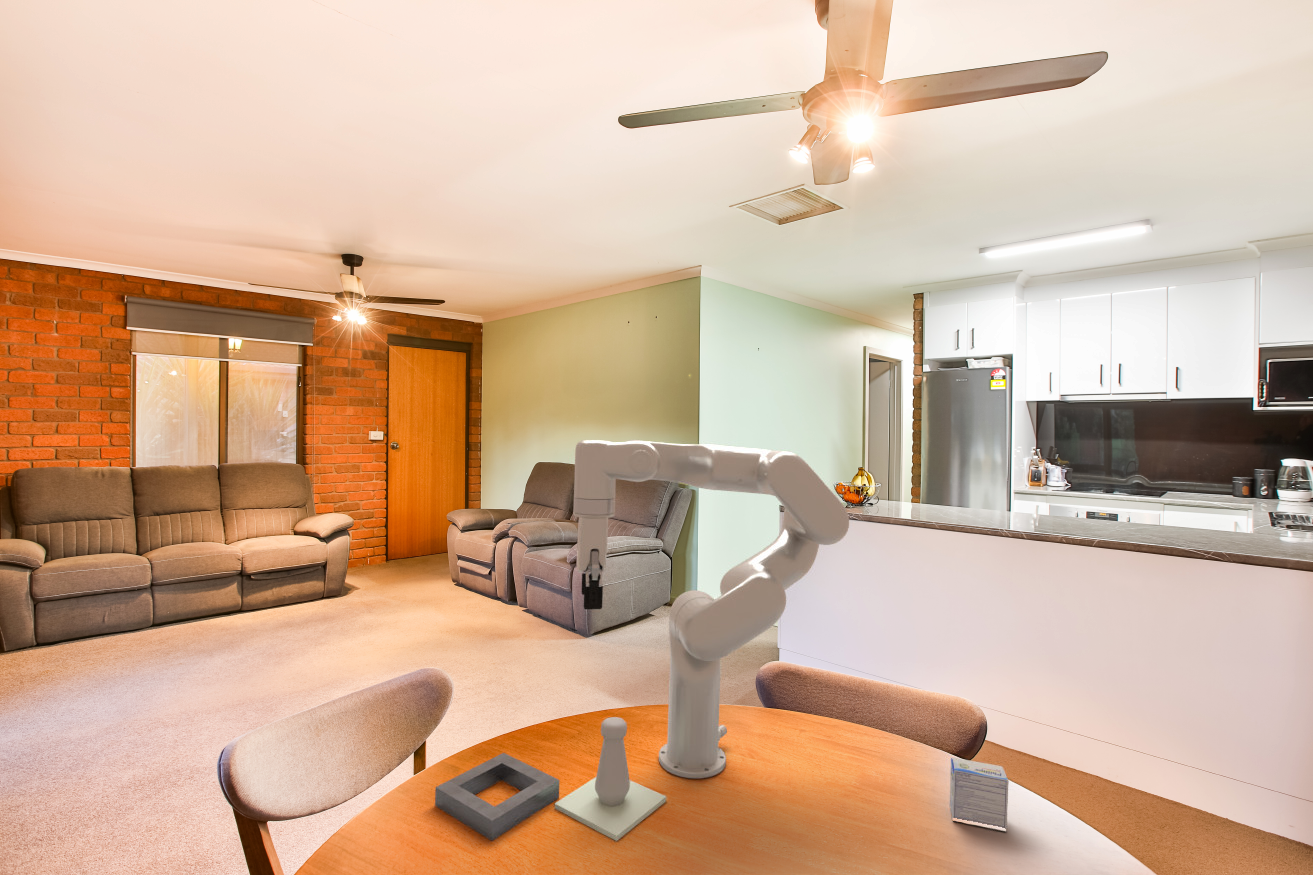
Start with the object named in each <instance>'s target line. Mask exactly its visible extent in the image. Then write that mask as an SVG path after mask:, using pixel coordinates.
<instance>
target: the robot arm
mask: <svg viewBox="0 0 1313 875" xmlns="http://www.w3.org/2000/svg"><path fill="white" fill-rule="evenodd" d="M575 445H576V446H575V449H574V450H575V452H574V453H575V454H574V456H575V458H574V484H573V485H574V486H573V487H574V488H573V510H572V511H573V512H572V513H573V517H577V518H578V523H577V524H578V525H577V540H576V542H577V545H576V547H577V548H576V568H577V569H576V570H577V572H578V573H579V574H581V595H583V609H585V610H601V609H602V608H603V598H604V597H603V595H604V594H603V593H604V585H603V573H604V572H605V571H606V565H607V554H608V553H607V552H608V538H609V537H608V534H609V532H608V531H609V530H608V529H609V518H613V517H615V515H616V514H615V510H616V484H617V483H616V480H622V481H623V480H624V481H627V482H628V481H629V482H635V483H641V482H642V483H643V482H645V481H648V480H656V481H665V482H671V483H672V482H673V483H678V484H679V483H680V484H683V485H688V486H691V487H694V488H699V489H704V490H709V491H710V490H711V491H712V490H713V491H723V492H733V493H734V492H736V493H737V492H738V493H748V494H759V495H761V494H762V495H767V496H768V495H769V496H773V497H775V498H777V500H778V501H779V503H781V505H782V507H783V508H784V509H783V510H784V511H783V517H782V519H783V521H782V526H781V530H780V532H779V534H778V536H777V537H776V538H775V540H773V542H771V543H770V544H769V545H767V546H766V547H764V548H763V549H762V550H760V551H758V552H757V553H755V554H753V555H752V556H750V557H749V558H747V559H745V560H744V561H742V562H740V563H738V564H737V565H735V566H733V567H731V568H730V569H729V570H728V571H727V572H726V573H725V574H724V575H723V576H722V578H721V580H720V584H719V590H720V596H717V598H715V599H714V598H713V596H711V595H710V594H708V593H707V592H705V591H701V590H695V589H694V590H688V591H685V592H683V593H681V594H679V596H677V597H676V598H675V600H674V601H673V603H672V605H671V607H670V610H669V615H668V616H669V617H668V634H669V636H668V637H669V677H668V678H669V680H668V681H669V682H668V711H667V712H668V714H667V743H665V744H664V745H662V746H661V748H660V749H659V751H658V761H659V762H658V763H659V764H660V766H661V767H662V768H663V769H664V770H666V771H667V772H668V773H670V774H672V775H675V776H677V777H681V778H687V779H705V778H710V777H713V776H716V775H717V774H719V773H721V772H722V771H723V770H724V769H725V767H726V765H727V763H726V762H727V756H726V753H725V752H724V751H723V750H722V748H721V747H719V742H720V741H721V738H722V737H724V736H725V735H726V734H727V733H728V730H727V726H725V725H724V724H720V723H719V722H720V699H721V698H720V695H721V692H720V691H721V675H722V674H721V672H722V671H721V667H722V666H721V663H722V662H721V659H723V658H724V657H727V656H728V655H730V654H731V653H733V652H735V651H736V650H738V649H739V648H741V647H744V645H746V644H747V643H749V642H750V641H751V642H752V640H754V639H755V638H757V637H759V636H760V635H762V634H763V633H764V632H766V631H768V630H770V628H772V627H773V626H774V625H775V624H777V622H778V621H779V620H780V618H781V617H782V616H783V614H784V611H785V609H786V605H787V595H786V594H787V593H786V590H787V589H788V588H790V587H792V585H794V584H796V583H797V582H798V581H800V580H801V579H802V578H803V577H805V576H806V575H807V573H808V572H809V571H810V570H811V569H812V567H813V565H814V563H815V560H816V558H817V555H818V551H819V549H820V548H819V547H820V545H821V546H829V545H834V544H837V543H838V542H840V541H841V540H842V539H844V537H845V536H846V535H847V533H848V531H849V528H850V519H849V518H850V517H849V514H848V511H847V509H846V507H845V506H844V504H843V503H842V502H841V501H840V499H839V498H838V497H837V496H836V495H835V494H834V493H833V491H832V490H831V489H830V488H829V487H828V486H827V485H826V483H825V482H824V481H823V480H822V479H821V477H820V476H819V475H818V474H817V473H816V472H815V471H814V469H813V468H811V466H810V465H809V464H808V463H807V462H806V461H805V460H804V459H803V458H802V457H801V456H799V455H798V454H796V453H794V452H790V451H785V450H784V451H782V450H773V449H762V448H752V447H742V446H732V445H721V444H720V445H719V444H711V443H710V444H708V443H707V444H706V443H704V444H703V443H702V444H701V443H699V444H696V443H695V444H684V443H683V444H682V443H671V442H670V443H669V442H667V443H666V442H659V441H658V442H657V441H647V440H642V439H641V440H640V439H629V440H627V441H620V442H617V441H616V442H613V441H611V440H603V439H583V440H580V441H578V442H577V444H575Z"/></svg>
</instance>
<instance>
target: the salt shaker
mask: <svg viewBox="0 0 1313 875" xmlns="http://www.w3.org/2000/svg"><path fill="white" fill-rule="evenodd" d="M627 730H628V724H627V722H626V721H625V720H624V719H623V718H621V717H619V716H617V717H616V716H613V717H607V718H605V719H604V720H603V721H601V726H600V734H601V736H602V737H603V741H602V746H601V751H600V756H599V760H598V761H599V762H598V766H597V772H596V775H595V777H596V781H595V791H596V793H597V795H598V797H599V799H600V801H601V804H603V805H606V806H610V807H613V806H617V805H621V804H622V802H623V800H624V798H625V796H626V795H627V793H628V791H629V788H630V780H631V779H630V775H629V774H630V773H629V767H628V766H629V765H628V761H627V760H628V759H627V754H626V747H625V740H624V738H625V737H626V735H627V732H628V731H627Z"/></svg>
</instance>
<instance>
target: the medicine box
mask: <svg viewBox="0 0 1313 875" xmlns="http://www.w3.org/2000/svg"><path fill="white" fill-rule="evenodd" d="M1007 776H1008V775H1007V774H1006V771H1005V769H1004V767H1003V766H1001V765H997V764H991V763H986V762H980V761H974V760H968V759H962V758H957V757H951V758H950V776H949V777H950V780H949V781H950V782H949V808H950V807H951V810H950V814H951V813H952V816H951V818H952V817H953V818H957V819H962V820H967V821H973V822H978V823H982V824H987V825H993V826H998V827H1002V828H1005V829H1007V830H1008V806H1009V805H1008V803H1009V785H1010V784H1009V782H1010V781H1009V778H1008V777H1007Z"/></svg>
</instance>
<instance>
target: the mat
mask: <svg viewBox="0 0 1313 875" xmlns="http://www.w3.org/2000/svg"><path fill="white" fill-rule="evenodd" d="M595 781H596V776H595V777H593V778H592V779H591V780H589V781H588V782H585V783H584V784H583V785H582V786H579V787H578V788H576V789H575V790H573V791H572V792H570V793H569V794H567V795H566V796H564V797H563V798H560V799H559V800H558V801H556V802H555V803H554V809H555V810H557V811H558V812H561V813H562V814H565V815H567V816H568V817H570V818H572V819H574V820H576V821H577V822H580V823H581V824H584V825H585V826H588V828H591V829H593V830H594V831H596V832H598V833H600V834H602V835H604V836H606V837H607V838H609V839H612V840H613V841H615V842H618V841H619V840H620V839H622V838H623V837H624V836H625V835H627V833H629V832H630V831H631V830H633V829H634V827H637V825H638V824H640V823H641V822H642V821H643V820H644V819H647V817H649V816H650V815H651V814H653V813H654V812H655V811H656V810H657V809H659V808H660V807H661V806H662V805H663V804H664V803H667V796H666V795H664V794H662V793H660V792H657V791H655V790H654V789H651V788H649V787H646V786H644V785H641V784H640V783H637V782H635V781H634V780H633V781H632V780H631V779H630V788H629V791H628V793H627V795H626V796H625V798H624V800H623V802H622V804H621V805H617V806H613V807H610V806H606V805H603V804H601V801H600V799H599V797H598V795H597V793H596V791H595Z"/></svg>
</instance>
